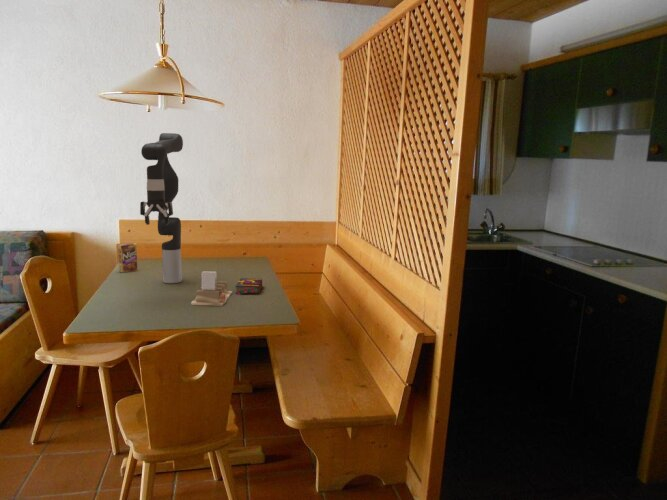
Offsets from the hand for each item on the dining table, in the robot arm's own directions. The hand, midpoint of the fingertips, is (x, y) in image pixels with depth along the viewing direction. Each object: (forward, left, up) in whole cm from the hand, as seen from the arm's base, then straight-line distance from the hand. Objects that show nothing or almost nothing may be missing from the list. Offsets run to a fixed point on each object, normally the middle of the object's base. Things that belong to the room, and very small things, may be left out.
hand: (157, 224), depth 237 cm
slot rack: (+5, +26, -33) cm, 42 cm away
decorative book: (-12, +40, -34) cm, 54 cm away
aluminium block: (+10, +26, -32) cm, 43 cm away
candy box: (-43, -33, -33) cm, 64 cm away
